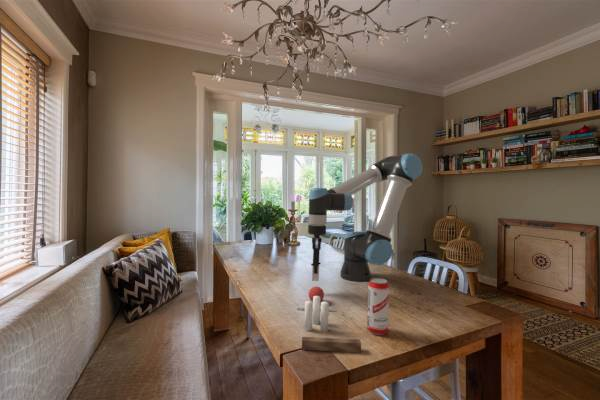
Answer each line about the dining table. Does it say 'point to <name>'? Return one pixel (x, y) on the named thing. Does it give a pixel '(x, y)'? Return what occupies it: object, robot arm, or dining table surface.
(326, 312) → the pin back right
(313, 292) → the ball
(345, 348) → the back wall
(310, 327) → the pin back left
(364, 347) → the dining table surface
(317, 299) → the pin front
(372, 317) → the beer can
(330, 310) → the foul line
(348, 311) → the dining table surface
